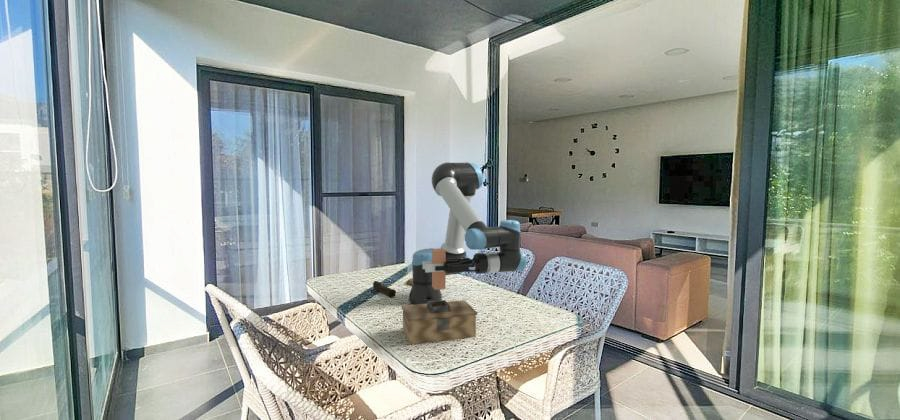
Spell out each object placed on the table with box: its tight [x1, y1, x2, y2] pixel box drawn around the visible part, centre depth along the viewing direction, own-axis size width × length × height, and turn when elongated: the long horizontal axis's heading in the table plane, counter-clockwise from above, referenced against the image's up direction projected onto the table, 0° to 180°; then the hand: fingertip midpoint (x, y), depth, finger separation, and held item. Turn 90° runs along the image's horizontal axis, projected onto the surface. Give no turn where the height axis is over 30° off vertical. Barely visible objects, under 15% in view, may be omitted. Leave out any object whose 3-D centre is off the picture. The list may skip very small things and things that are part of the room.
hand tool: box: [372, 280, 397, 299], centre depth 200 cm, size 19×4×5 cm, turn 36°
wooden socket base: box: [401, 299, 478, 345], centre depth 149 cm, size 25×15×11 cm, turn 106°
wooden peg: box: [432, 247, 447, 290], centre depth 147 cm, size 4×4×14 cm
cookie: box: [406, 277, 413, 287], centre depth 217 cm, size 10×11×3 cm
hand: (424, 266), depth 146 cm, fingers closed on wooden peg, 4 cm apart
